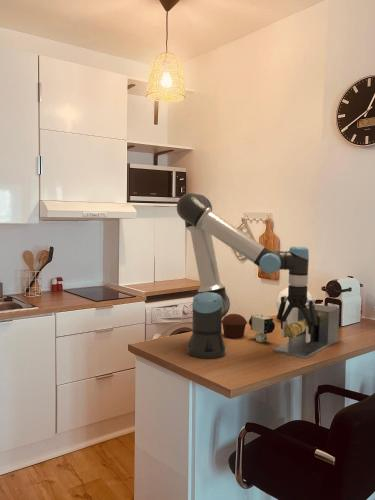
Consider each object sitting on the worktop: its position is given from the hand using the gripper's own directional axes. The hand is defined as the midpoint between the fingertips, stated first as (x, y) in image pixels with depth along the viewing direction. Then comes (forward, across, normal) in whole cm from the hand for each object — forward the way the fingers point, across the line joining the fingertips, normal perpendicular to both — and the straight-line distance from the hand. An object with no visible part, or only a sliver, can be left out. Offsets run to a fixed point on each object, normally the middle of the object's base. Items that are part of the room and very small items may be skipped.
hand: (296, 339), depth 180 cm
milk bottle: (+5, +15, -31) cm, 35 cm away
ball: (+5, +24, -49) cm, 54 cm away
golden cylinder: (-2, 0, -3) cm, 3 cm away
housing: (+5, 0, -11) cm, 12 cm away
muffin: (+5, +32, -3) cm, 33 cm away
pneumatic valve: (+5, +18, -4) cm, 19 cm away
